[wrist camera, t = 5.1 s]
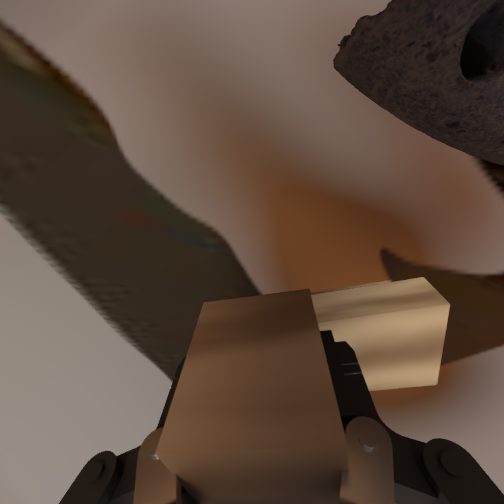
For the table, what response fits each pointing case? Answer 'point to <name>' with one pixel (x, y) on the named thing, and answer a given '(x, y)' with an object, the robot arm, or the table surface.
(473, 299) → the table surface
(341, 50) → the perforated stone tool
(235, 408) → the walnut block
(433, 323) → the plinth
